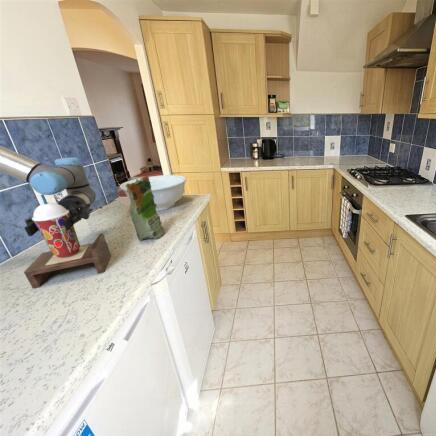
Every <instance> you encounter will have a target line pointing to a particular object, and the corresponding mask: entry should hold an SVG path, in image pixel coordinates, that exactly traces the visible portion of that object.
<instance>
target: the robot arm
mask: <svg viewBox="0 0 436 436" xmlns="http://www.w3.org/2000/svg"><path fill="white" fill-rule="evenodd" d="M54 165H55V167H50V166H48V165H46V164H43V163H41V162H39V161H37V160H34V159H32V158H30V157H27V156H25V155H23V154H21V153H18V152H16V151H14V150H12V149H9V148H7V147H5V146H2V145H0V173H3V174H4V175H8V176H10V177H13V178H15V179H18V180H19V181H23V182H25V183H28V184H29V185H30V186H31V188H32V189H33V190H34V191H35V192H36V193H38V194H40V195H42V194H44V196H45V195H46V196H52V195H55V194H59V193H62V192H64V191H65V192H66V195H65V196H64V197H63V198H61V199H60V200H58V202H57V204H59V205H61V206H63V207H64V208H65V209H66V210H69V214H70V216H69V217H68V218H66V219H65V220H64V221H63V224H64V226H65V229H66V230H69V229H70V228H71V227H72V226H74V225H75V224H76V223H77V224H78V223H79V222H80V221H82V220H88V219H89V218H90V214H91V212H92V211H93V207H92V204H93V203H94V202H95V201H96V198H97V191H96V190H95V189H94V188H92V187H91V185H90V183H89V180H88V177H87V174H86V172H85V169H84V166H83V164H82V162H81V159H80V158H78V157H75V156H74V157H73V156H72V157H62V158H57V159H55V160H54ZM32 217H33V215H32V216H30V217H28V218H27V219H25V220H24V223H25V225H26V226H25V227H24V230H25V232H26V234H27V236H28V237H32V236H34V235H35V234H37V232H40V231H39V230H38V228H37V226H36V224H35V223H34V221H33V220H32Z"/></svg>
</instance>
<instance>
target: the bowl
mask: <svg viewBox="0 0 436 436" xmlns="http://www.w3.org/2000/svg"><path fill="white" fill-rule="evenodd" d="M148 177H149V181H150V185H151V191H152V194H153V195H154V203H155V204H156V205H157V206H156V212H158V211H160V212H161V211H165V210H168V209H171V208H173V207H175V205H176V202H178V201H179V200H180V199H181V198H182V197H183V196H184V194H185V185H186V182H187V177H186V176H183V175H176V174H164V175H163V174H162V175H154V176H148ZM141 178H142V177H140V178H136V179H137V180H140V179H141ZM136 179H131V180H128V181H124V182H123V183H121V184H120V185H119V189H120V190H121V191H123V192H124V193H125V196H126V197H127V199H128V200H129V201H130V202H131V200H130V197H129V193H128V192H127V187H126V185H127V184H132V183H134V182H136Z"/></svg>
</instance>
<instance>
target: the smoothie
mask: <svg viewBox="0 0 436 436" xmlns="http://www.w3.org/2000/svg"><path fill="white" fill-rule="evenodd" d="M40 197H41V199H42V202H43V203H42V204H40V205H38V206H37V207H36V208H34V210H33V213H32V216H33V217H32V216H31V217H32V220H33V221H34V223H35V224H36V226H37V228H38V230H39V231H38V232H39V233H40V234H41V236H42V238H43V240H44V241H45V243H46V245H47V246H48V248H49V250H50V251H52V253H53V254H54V255H56V256H57V257H59V258H63V257H68V256H71V255H74V254H76V253H77V252H78V251H79V248H80V246H81V244H80V241H79V238H78V235H77V232H76V229H75V226H74V225H73V226H72V227H71V228H70V229H69V230H66V229H65V226H64V224H63V221H64V220H65V219H66V218H68V217H69V216H70V214H69V210H66V209H65V208H64V207H63V206H61V205H59V204H58V203H56V202H48V201H47V199H46V197H45V195H44V194H40Z"/></svg>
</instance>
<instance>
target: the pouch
mask: <svg viewBox="0 0 436 436" xmlns="http://www.w3.org/2000/svg"><path fill="white" fill-rule="evenodd" d="M149 177H150V176H143V177H140V178H141V179H140V180H137V179H138V178H136V182H134V183H132V184H127V185H126V187H127V192H128V193H129V197H130V200H131V201H130V200H129V201H130V205H129V208H130V211H131V212H130V217H131V220H132V224H133V227H134V230H135V232H136V237H137V239H138V241H142V240H147V239H155V240H158V239H160V238H162V237H163V236H164V235H165V229H164V227H163V225H162V219H161V217H160V215H159V214H158V213H157V212H158V211H156V206H157V205H156V204H155V203H154V195H153V194H152V191H151V185H150V181H149Z"/></svg>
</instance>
